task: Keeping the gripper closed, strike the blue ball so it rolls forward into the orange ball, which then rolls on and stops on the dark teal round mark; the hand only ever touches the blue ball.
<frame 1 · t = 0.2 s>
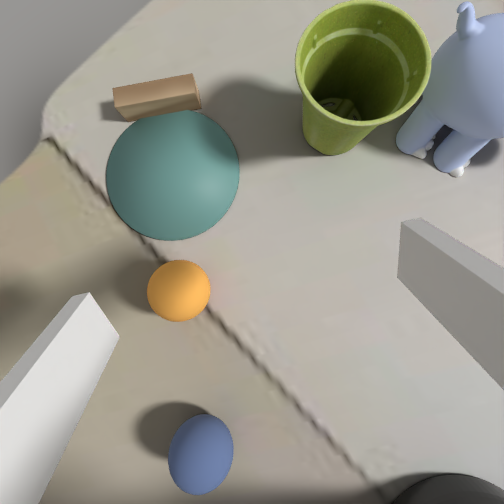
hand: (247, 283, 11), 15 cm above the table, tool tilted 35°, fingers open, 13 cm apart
blue ball: (201, 451, 23), on the table
hippopotamus toy: (460, 125, 27), on the table
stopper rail: (163, 106, 28), on the table
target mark: (172, 174, 27), on the table
plant pot: (330, 128, 27), on the table
orange ball: (179, 290, 24), on the table
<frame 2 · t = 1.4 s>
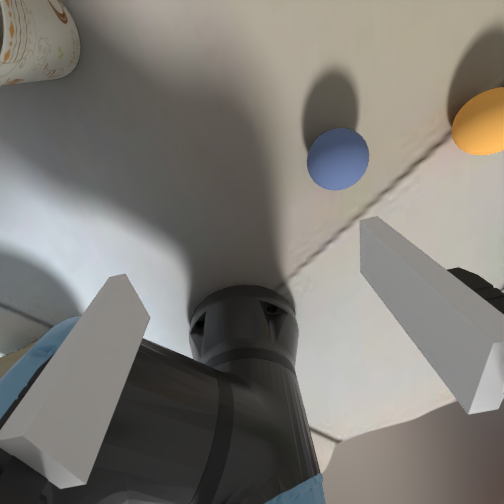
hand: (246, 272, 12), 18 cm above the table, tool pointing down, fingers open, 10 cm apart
blue ball: (336, 160, 25), on the table
mug: (25, 52, 22), on the table
orange ball: (489, 122, 24), on the table
planter bowl: (61, 359, 39), on the table
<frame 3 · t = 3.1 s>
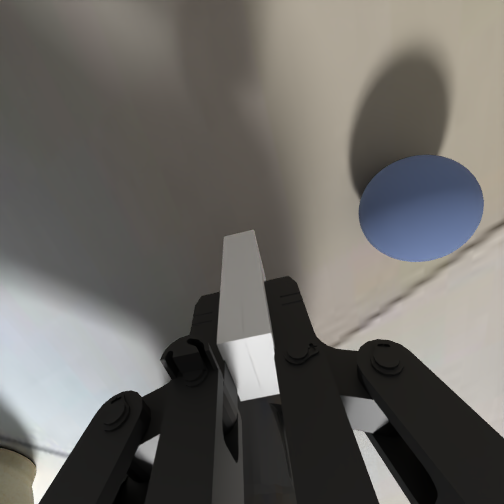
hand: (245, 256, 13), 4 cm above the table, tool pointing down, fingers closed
blue ball: (414, 210, 14), on the table
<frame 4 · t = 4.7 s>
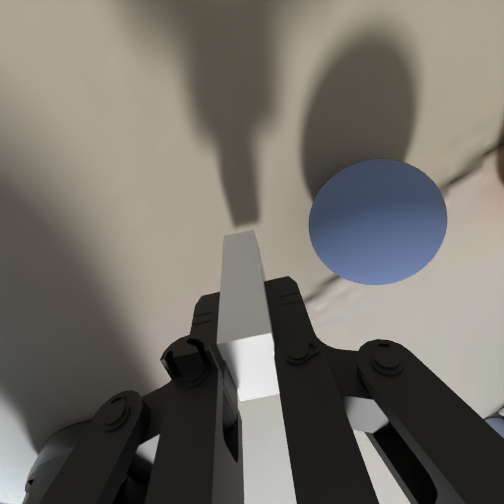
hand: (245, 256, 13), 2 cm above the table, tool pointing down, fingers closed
blue ball: (371, 223, 12), on the table
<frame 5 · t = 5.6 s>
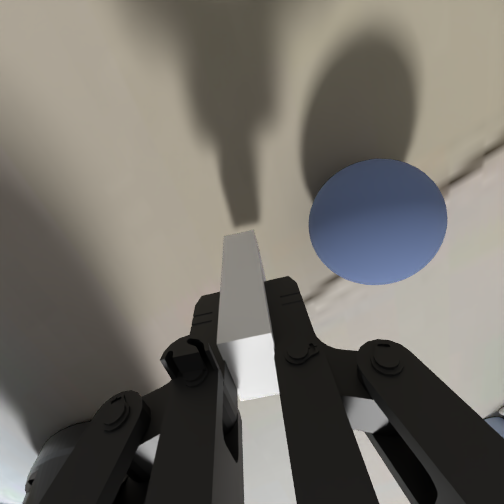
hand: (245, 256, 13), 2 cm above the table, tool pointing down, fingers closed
blue ball: (371, 223, 12), on the table
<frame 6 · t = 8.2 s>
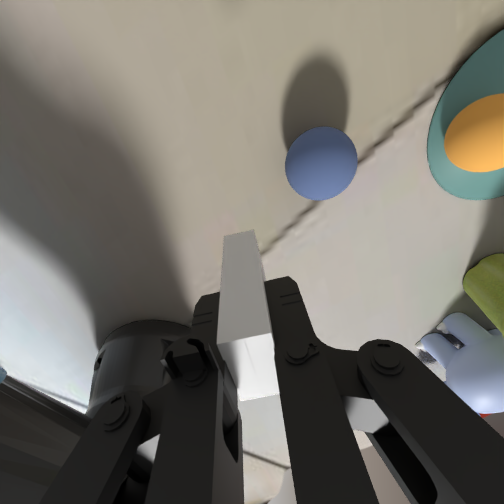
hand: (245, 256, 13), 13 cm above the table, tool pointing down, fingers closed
blue ball: (320, 164, 21), on the table
hippopotamus toy: (450, 344, 37), on the table
plant pot: (487, 273, 31), on the table
orange ball: (488, 135, 20), on the table
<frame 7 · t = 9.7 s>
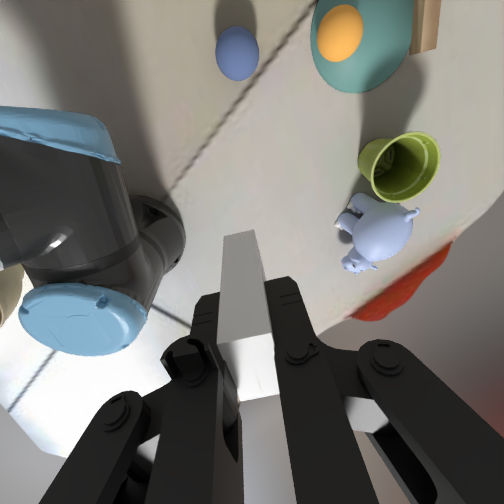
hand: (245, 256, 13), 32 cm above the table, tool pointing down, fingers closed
blue ball: (237, 54, 33), on the table
hippopotamus toy: (361, 226, 50), on the table
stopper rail: (419, 16, 34), on the table
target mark: (362, 31, 35), on the table
plant pot: (375, 157, 43), on the table
orange ball: (339, 34, 33), on the table
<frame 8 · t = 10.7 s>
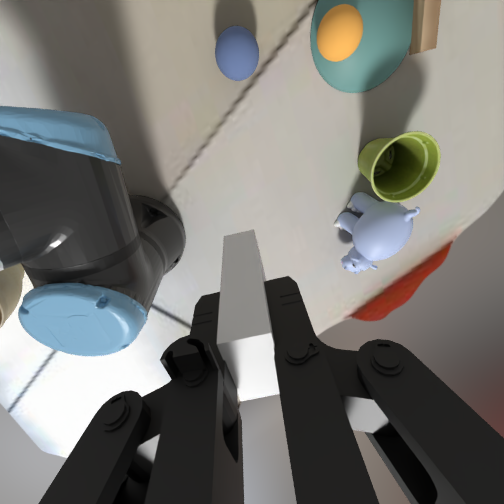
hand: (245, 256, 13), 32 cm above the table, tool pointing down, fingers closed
blue ball: (237, 54, 33), on the table
hippopotamus toy: (361, 225, 49), on the table
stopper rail: (419, 16, 34), on the table
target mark: (362, 31, 35), on the table
plant pot: (374, 157, 43), on the table
orange ball: (339, 34, 33), on the table
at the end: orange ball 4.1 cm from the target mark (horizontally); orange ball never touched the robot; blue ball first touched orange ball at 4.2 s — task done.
